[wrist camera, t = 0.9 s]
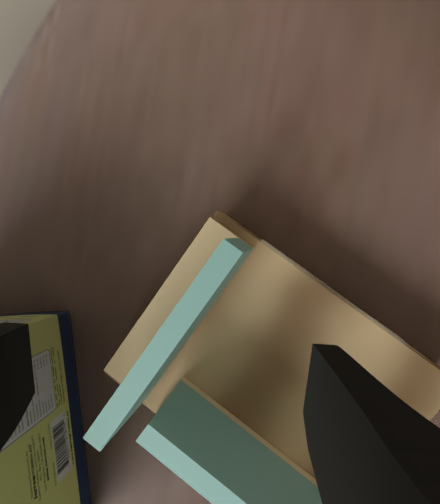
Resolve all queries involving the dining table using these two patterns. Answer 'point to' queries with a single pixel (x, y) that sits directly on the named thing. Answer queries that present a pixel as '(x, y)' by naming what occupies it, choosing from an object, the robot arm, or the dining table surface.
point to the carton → (287, 348)
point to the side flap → (222, 453)
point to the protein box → (47, 422)
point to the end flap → (168, 324)
